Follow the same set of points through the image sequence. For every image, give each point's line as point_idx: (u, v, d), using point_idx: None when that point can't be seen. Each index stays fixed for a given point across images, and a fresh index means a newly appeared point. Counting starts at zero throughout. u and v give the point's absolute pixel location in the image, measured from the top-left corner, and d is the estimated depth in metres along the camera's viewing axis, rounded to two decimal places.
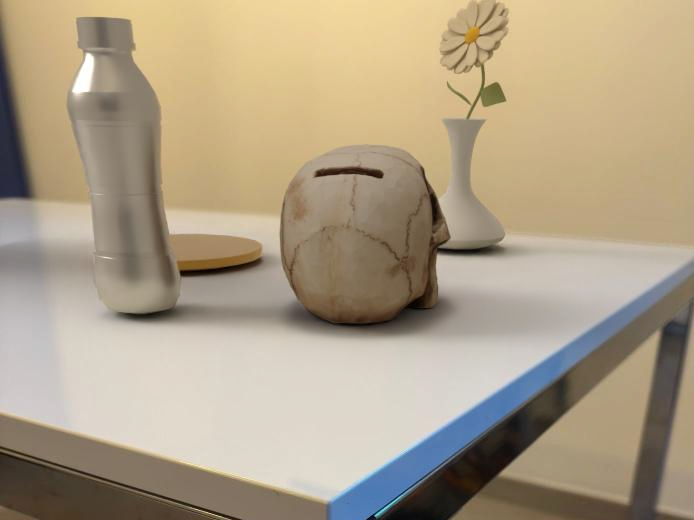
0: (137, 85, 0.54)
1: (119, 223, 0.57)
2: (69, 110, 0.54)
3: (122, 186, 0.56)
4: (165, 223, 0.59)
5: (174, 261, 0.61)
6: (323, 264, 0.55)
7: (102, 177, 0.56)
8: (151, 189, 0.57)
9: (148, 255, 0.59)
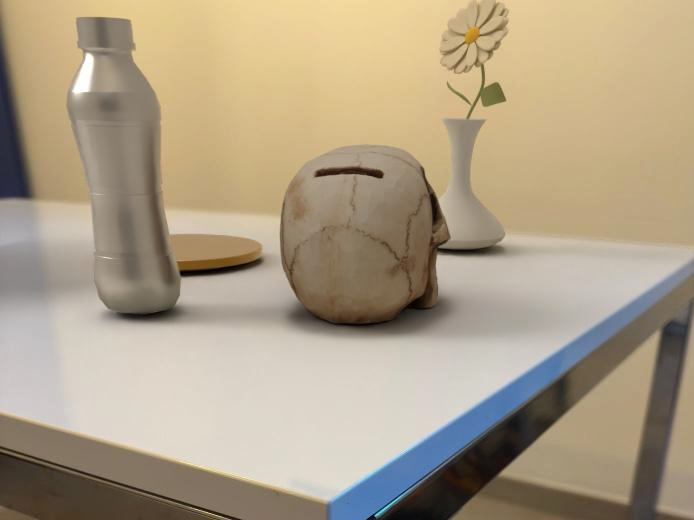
0: (137, 85, 0.54)
1: (119, 223, 0.57)
2: (69, 110, 0.54)
3: (122, 186, 0.56)
4: (164, 222, 0.59)
5: (174, 261, 0.61)
6: (323, 264, 0.55)
7: (102, 177, 0.56)
8: (151, 189, 0.57)
9: (148, 255, 0.59)
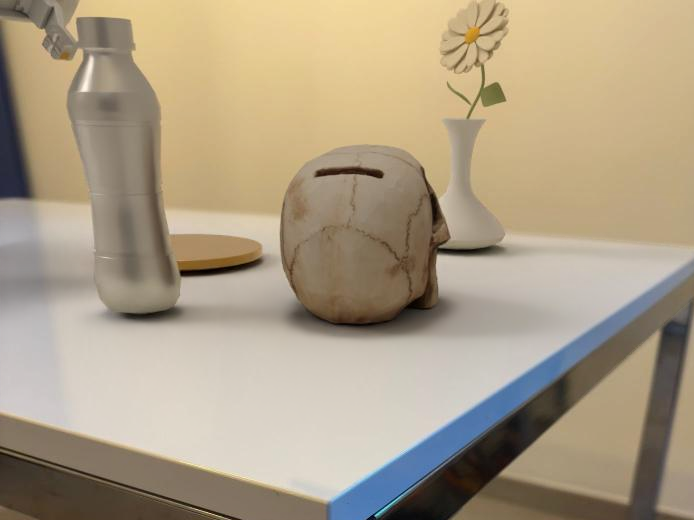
0: (137, 85, 0.54)
1: (119, 223, 0.57)
2: (69, 110, 0.54)
3: (122, 186, 0.56)
4: (164, 222, 0.59)
5: (174, 261, 0.61)
6: (323, 264, 0.55)
7: (102, 177, 0.56)
8: (151, 189, 0.57)
9: (148, 255, 0.59)
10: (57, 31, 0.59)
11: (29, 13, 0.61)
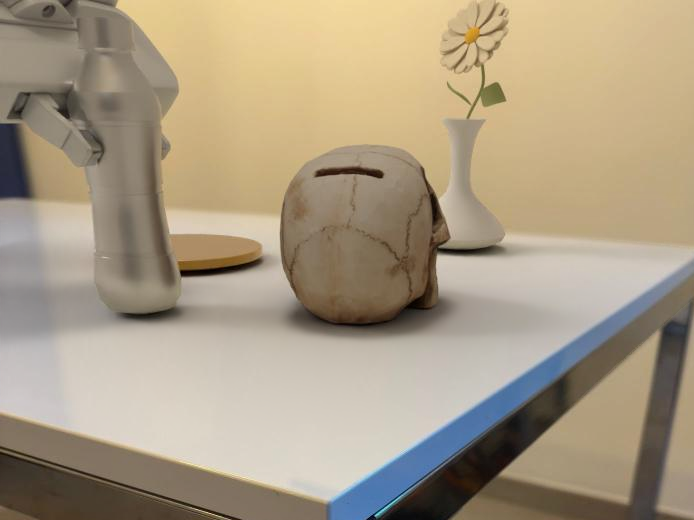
0: (138, 85, 0.54)
1: (120, 223, 0.57)
2: (69, 110, 0.54)
3: (122, 186, 0.56)
4: (165, 222, 0.59)
5: (174, 261, 0.61)
6: (323, 264, 0.55)
7: (103, 177, 0.56)
8: (151, 189, 0.57)
9: (149, 255, 0.59)
10: None
11: None
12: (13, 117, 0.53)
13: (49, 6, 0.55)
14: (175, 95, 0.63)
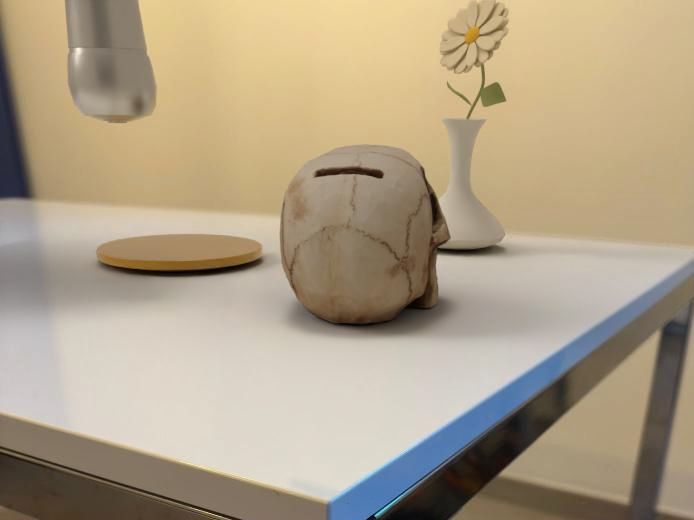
0: None
1: (93, 15, 0.57)
2: None
3: None
4: (139, 21, 0.59)
5: (149, 65, 0.60)
6: (323, 264, 0.55)
7: None
8: None
9: (122, 52, 0.58)
10: None
11: None
12: None
13: None
14: None
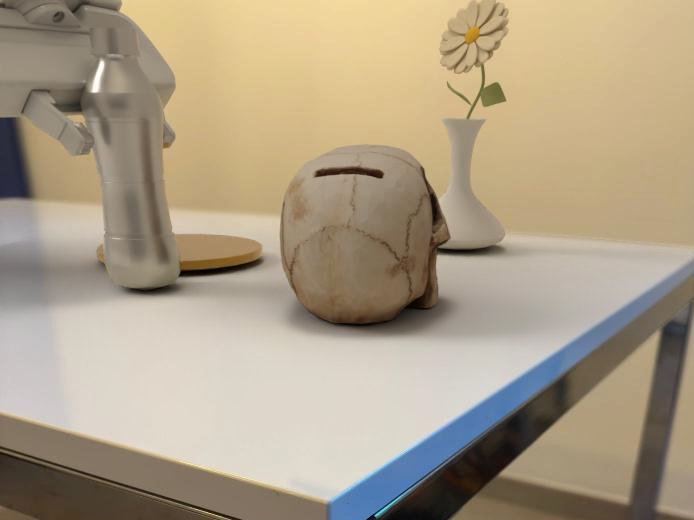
0: (142, 86, 0.62)
1: (126, 208, 0.65)
2: (82, 108, 0.62)
3: (128, 175, 0.64)
4: (166, 208, 0.67)
5: (174, 242, 0.68)
6: (323, 264, 0.55)
7: (111, 167, 0.64)
8: (153, 178, 0.65)
9: (151, 236, 0.66)
10: None
11: None
12: None
13: (59, 13, 0.63)
14: (172, 90, 0.71)
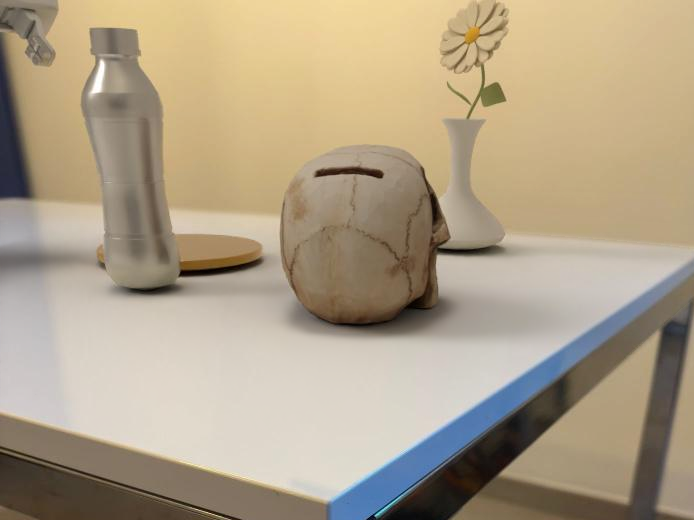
0: (142, 86, 0.62)
1: (126, 208, 0.65)
2: (82, 108, 0.62)
3: (128, 175, 0.64)
4: (166, 208, 0.67)
5: (174, 242, 0.68)
6: (323, 264, 0.55)
7: (111, 167, 0.64)
8: (153, 178, 0.65)
9: (151, 236, 0.66)
10: (38, 41, 0.70)
11: (13, 25, 0.71)
12: None
13: None
14: (55, 13, 0.73)
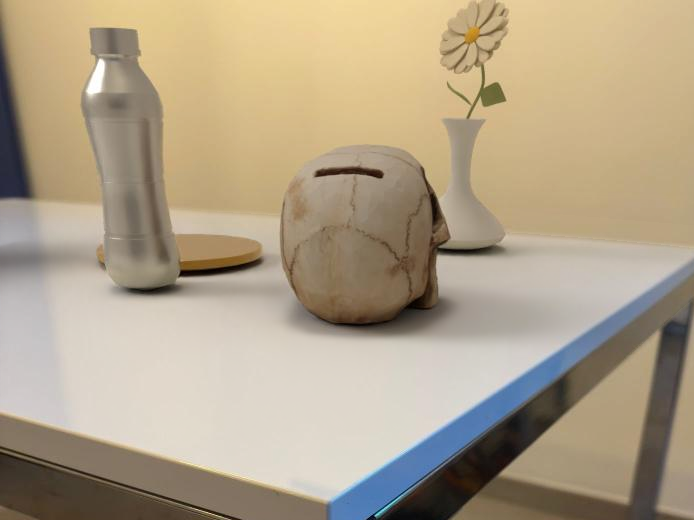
0: (142, 86, 0.62)
1: (126, 208, 0.65)
2: (82, 108, 0.62)
3: (128, 175, 0.64)
4: (166, 208, 0.67)
5: (174, 242, 0.68)
6: (323, 264, 0.55)
7: (111, 167, 0.64)
8: (153, 178, 0.65)
9: (151, 236, 0.66)
10: None
11: None
12: None
13: None
14: None
